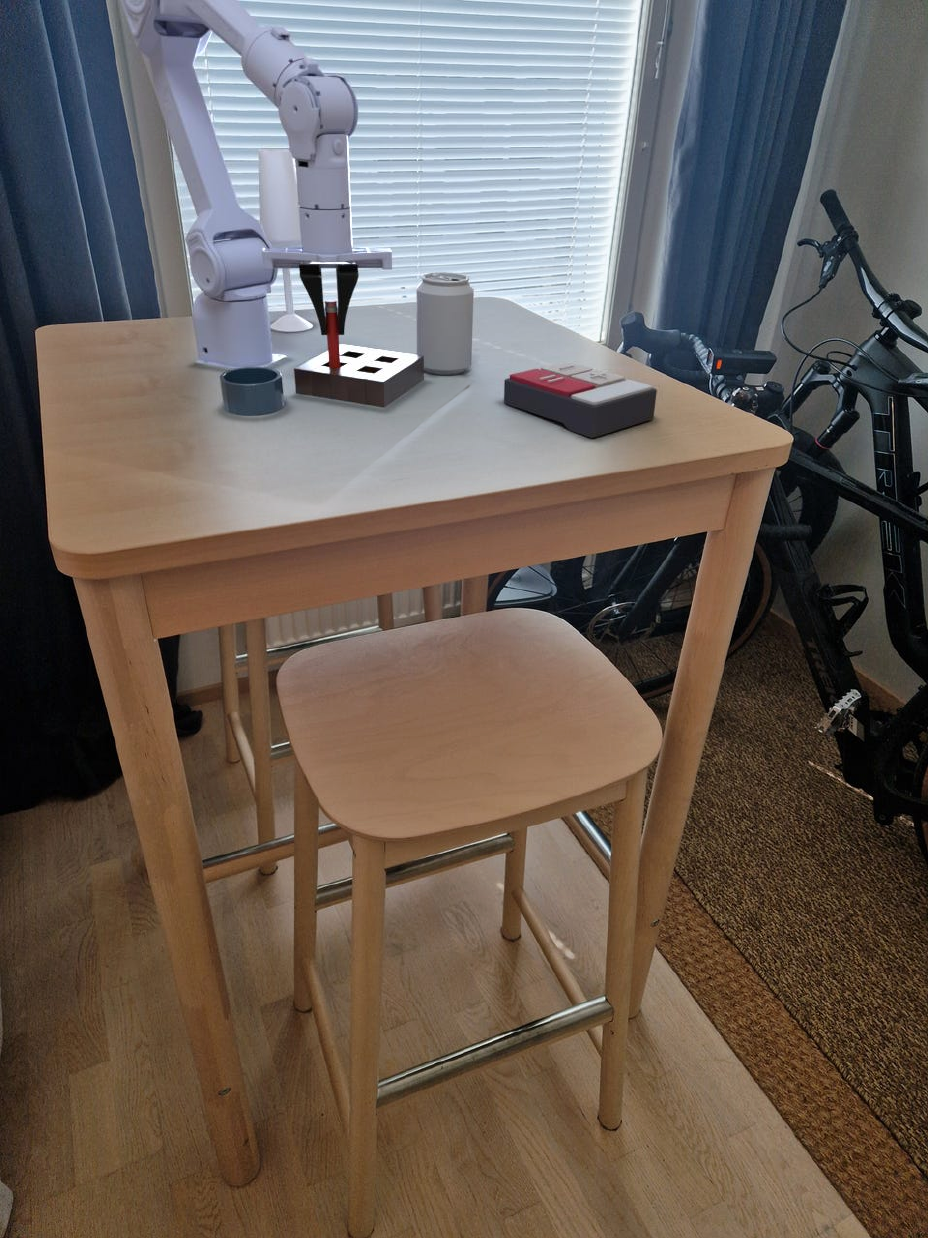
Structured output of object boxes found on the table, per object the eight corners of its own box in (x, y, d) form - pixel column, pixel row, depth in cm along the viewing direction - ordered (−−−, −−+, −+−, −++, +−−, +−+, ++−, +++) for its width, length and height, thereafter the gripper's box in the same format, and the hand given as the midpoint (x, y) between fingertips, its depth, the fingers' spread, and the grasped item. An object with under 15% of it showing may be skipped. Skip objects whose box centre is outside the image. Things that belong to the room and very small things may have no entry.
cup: (212, 414, 92) (207, 379, 90) (246, 396, 98) (242, 363, 95) (263, 423, 90) (259, 388, 88) (295, 404, 96) (292, 371, 94)
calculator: (566, 358, 102) (659, 382, 93) (564, 391, 105) (655, 418, 95) (502, 372, 97) (595, 400, 87) (502, 408, 99) (592, 438, 89)
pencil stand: (296, 396, 98) (293, 368, 96) (342, 370, 108) (340, 343, 106) (384, 411, 95) (383, 381, 93) (424, 382, 104) (424, 355, 102)
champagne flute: (279, 319, 129) (262, 147, 116) (319, 322, 128) (306, 149, 115) (262, 329, 124) (243, 150, 110) (303, 333, 123) (289, 152, 109)
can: (465, 378, 106) (468, 282, 99) (410, 373, 107) (409, 278, 100) (475, 363, 112) (479, 271, 105) (424, 358, 113) (424, 267, 107)
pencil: (326, 369, 98) (322, 301, 93) (332, 366, 99) (328, 298, 95) (337, 371, 98) (333, 302, 93) (342, 368, 99) (339, 300, 94)
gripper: (255, 210, 84) (269, 342, 92) (393, 212, 86) (395, 340, 94) (259, 202, 90) (271, 326, 97) (387, 203, 92) (390, 325, 99)
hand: (332, 332), depth 96 cm, fingers closed on pencil, 1 cm apart
